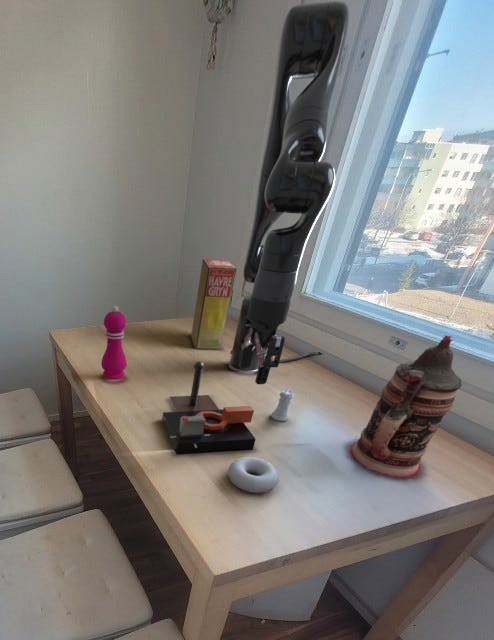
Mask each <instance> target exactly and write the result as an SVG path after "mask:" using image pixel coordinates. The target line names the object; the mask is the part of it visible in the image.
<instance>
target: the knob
mask: <svg viewBox="0 0 494 640" xmlns="http://www.w3.org/2000/svg"><path fill="white" fill-rule="evenodd" d="M204 425H205V418H204V417H203V416H189V417H187V416H182V417H181V420H180V427H179V434H178V435H179V437H180V439H189V438H202V436H203V431H204Z"/></svg>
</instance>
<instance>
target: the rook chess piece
mask: <svg viewBox="0 0 494 640" xmlns="http://www.w3.org/2000/svg"><path fill="white" fill-rule="evenodd" d="M279 397H280V398H279V399H278V404H277V406H276V408H275V409H273V411H272V413H271V414H270V416H271V418H272V419H273V420H274V421H277V422H286V421H288V420H289V419H290V415H289V407H290V404H291V403H292V401H291V400H292V399H293V398H294V397H295V396H294V392H293V391H292V390H291V389H282V391H281V392H280V393H279Z"/></svg>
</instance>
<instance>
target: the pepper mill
mask: <svg viewBox="0 0 494 640" xmlns="http://www.w3.org/2000/svg"><path fill="white" fill-rule="evenodd" d="M119 309H120V308H119V307H118V306H117V305H113V306H112V307H111V311H110V312H108V313H107V314H106V315H105V316H104V319H103V326H104V328H105V329H106V330H105V338H106V340H107V342H106V349H105V351H104V353H103V356H102V358H101V364H100V365H101V368H102V370H103V371H102V377H103V378H105V379H107V380H112V381H118V380H122V379H123V378H125V372H124V371H125V370H126V368H127V365H128V363H127V357H126V355H125V352H124V350H123V345H122V344H123V342H122V341H123V338H124V336H125V335H124V334H125V331H124V329H126V326H127V318H126V316H125V315H124V314H123V313H122V312H120V311H119Z"/></svg>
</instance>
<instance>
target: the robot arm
mask: <svg viewBox="0 0 494 640" xmlns="http://www.w3.org/2000/svg"><path fill="white" fill-rule="evenodd" d="M349 23H350V10H349V5H348V4H347V3H346V2H344V1H340V0H331V1H330V0H329V1H318V2H309V3H301V4H300V3H299V4H295V5H292V6H291V7H290V8H289V9H288V11H287V13H286V14H285V17H284V21H283V24H282V29H281V33H280V38H279V44H278V51H277V52H278V53H277V58H276V59H277V60H276V68H275V76H274V84H273V85H274V86H273V92H272V93H273V94H272V103H271V110H270V115H269V116H270V118H269V125H268V130H267V135H266V141H265V146H264V152H263V157H262V162H261V167H260V173H259V179H258V186H257V193H256V201H255V209H254V215H253V216H254V217H253V223H252V226H251V231H250V235H249V236H250V237H249V242H248V245H247V246H248V247H247V251H246V254H245V260H244V264H243V273H242V274H243V280H244V281H245V283H249V284H253V286H252V292H251V295H247V296H245V297H244V298H243V299H242V301H241V308H240V311H239V316H238V320H237V326H236V330H235V335H234V338H233V339H234V340H233V345H232V350H230V359H229V363H228V368H229V369H230V370H232V371H233V372H252V373H253V374H256V376H255V380H254V382H255V384H256V385H266V384H267V381H268V377H269V374H270V371H271V369H272V368H278V367H279V364H280V363H281V364H282V363H288V362H292V361H297V360H300V359H302V358H305V357H309V356H312V355H314V354H316V353H317V354H319V355H323V354H322V353H320V352H316V353H315V350H313V351H310V352H307V353H304V354H301V355H298V356H295V357H290V358H285V359H281V356H282V353H283V349H284V345H285V341H286V337H285V335H278V327H279V326H281V325H283V324H284V323H286V321H287V317H288V315H289V314H288V313H289V310H290V307H291V303H292V300H293V296H294V293H295V289H296V285H297V279H298V274H299V269H300V266H301V262H302V258H303V256H304V251H305V249H306V246H307V243H308V240H309V237H310V235H311V233H312V231H313V229H314V227H315V224H316V222H317V221H318V219H319V218H320V215H321V213H322V212H323V210H324V208H325V206H326V204H327V203H328V201H329V199H330V197H331V195H332V192H333V190H334V187H335V181H336V172H335V168H334V166H333V164H332V163H331V162H329V161H325V160H324V161H323V160H322V158H323V156H324V153H325V150H326V146H327V135H328V126H329V118H330V111H331V110H330V109H331V104H332V101H333V97H334V94H335V89H336V86H337V82H338V78H339V74H340V69H341V65H342V61H343V56H344V53H345V47H346V42H347V37H348V30H349ZM303 79H312V80H311V81H310V82H309V83H308V84H307V85H306V86H305V88H303V90H302V91H301V92H300V93H299V94H298V96H296V99H295V100H294V102H293V101H292V92H291V91H292V90H291V89H292V88H291V85H292V84H291V83H292V81H293V80H303ZM283 214H298V215H300V214H301V216H300V217H299V219H298V220H297V221H296V222H295V223H293V224H292V225H291V226H288V227H282V228H276V229H273V230H270V229H272V227H273V226H274V224H275V223H276V222H277V221H278V220H279V219H280V218H281V217H282V216H283ZM263 241H264V242H263ZM262 243H264V244H262Z"/></svg>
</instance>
